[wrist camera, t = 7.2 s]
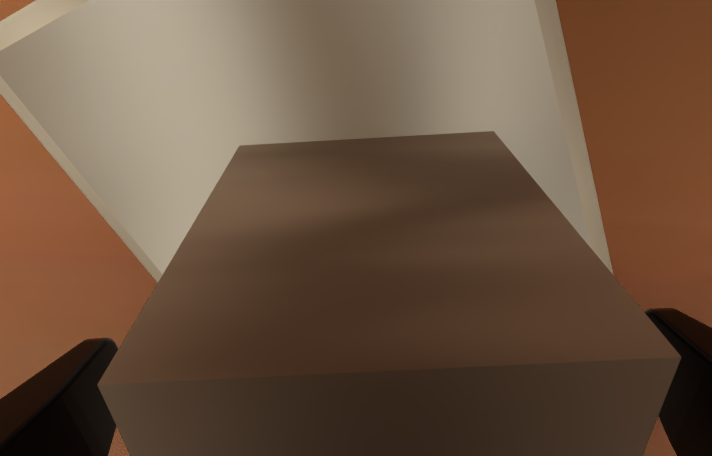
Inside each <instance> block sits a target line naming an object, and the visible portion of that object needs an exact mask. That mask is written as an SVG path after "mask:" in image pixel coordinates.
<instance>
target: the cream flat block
mask: <svg viewBox="0 0 712 456" xmlns="http://www.w3.org/2000/svg"><path fill="white" fill-rule="evenodd" d="M0 94H1V95H2V96H3V97H4V99H5V100H6V101H7V102H8V103H9V105H10V106H11V107H12V108H13V109H14V111H15V112H16V113H17V114H18V115H19V117H20V118H21V119H22V120H23V121H24V123H25V124H26V125H27V126H28V128H29V129H30V130H31V131H32V132H33V134H34V135H35V136H36V137H37V138H38V140H39V141H40V142H41V143H42V144H43V146H44V147H45V148H46V149H47V150H48V152H49V153H50V154H51V155H52V156H53V158H54V159H55V160H56V161H57V162H58V164H59V165H60V166H61V167H62V168H63V170H64V171H65V172H66V173H67V174H68V176H69V177H70V178H71V179H72V180H73V182H74V183H75V184H76V185H77V186H78V188H79V189H80V190H81V191H82V192H83V194H84V195H85V196H86V197H87V198H88V200H89V201H90V202H91V203H92V204H93V206H94V207H95V208H96V209H97V210H98V212H99V213H100V214H101V215H102V217H103V218H104V219H105V220H106V221H107V223H108V224H109V225H110V226H111V227H112V229H113V230H114V231H115V232H116V233H117V235H118V236H119V237H120V238H121V239H122V241H123V242H124V243H125V244H126V245H127V247H128V248H129V249H130V250H131V251H132V253H133V254H134V255H135V256H136V257H137V259H138V260H139V261H140V262H141V263H142V265H143V266H144V267H145V268H146V269H147V271H148V272H149V273H150V274H151V275H152V277H153V278H154V279H155V280H156V281H157V283H158V282H159V280H160V278H161V277H162V275H163V273H164V272H165V270H166V268H167V267H168V265H169V263H170V261H171V260H172V258H173V256H174V255H175V253H176V251H177V250H178V248H179V246H180V245H181V243H182V241H183V240H184V238H185V236H186V235H187V233H188V231H189V229H190V228H191V226H192V224H193V223H194V221H195V219H196V218H197V216H198V214H199V213H200V211H201V209H202V208H203V206H204V204H205V203H206V201H207V199H208V198H209V196H210V194H211V192H212V191H213V189H214V187H215V186H216V184H217V182H218V181H219V179H220V177H221V176H222V174H223V172H224V171H225V169H226V167H227V166H228V164H229V162H230V161H231V159H232V157H233V155H234V154H235V152H236V150H237V149H238V147H239V146H240V145H258V144H276V143H293V142H311V141H329V140H346V139H364V138H382V137H399V136H417V135H435V134H452V133H470V132H487V131H494V132H495V133H496V134H497V136H498V137H499V138H500V139H501V141H502V142H503V143H504V144H505V145H506V147H507V148H508V149H509V150H510V151H511V153H512V154H513V155H514V156H515V157H516V159H517V160H518V161H519V162H520V163H521V165H522V166H523V167H524V168H525V169H526V171H527V172H528V173H529V174H530V175H531V177H532V178H533V179H534V180H535V181H536V183H537V184H538V185H539V186H540V187H541V189H542V190H543V191H544V192H545V193H546V195H547V196H548V197H549V198H550V199H551V201H552V202H553V203H554V204H555V205H556V207H557V208H558V209H559V210H560V211H561V213H562V214H563V215H564V216H565V218H566V219H567V220H568V221H569V222H570V224H571V225H572V226H573V227H574V228H575V230H576V231H577V232H578V233H579V234H580V236H581V237H582V238H583V239H584V240H585V242H586V243H587V244H588V245H589V246H590V248H591V249H592V250H593V251H594V252H595V254H596V255H597V256H598V257H599V258H600V260H601V261H602V262H603V263H604V264H605V266H606V267H607V268H608V269H609V270H610V272H611V273H612V274H613V270H612V266H611V261H610V256H609V251H608V247H607V242H606V237H605V232H604V228H603V223H602V218H601V213H600V209H599V204H598V199H597V194H596V189H595V185H594V180H593V175H592V170H591V166H590V161H589V156H588V151H587V147H586V142H585V137H584V132H583V128H582V123H581V118H580V113H579V109H578V104H577V99H576V94H575V90H574V85H573V80H572V75H571V71H570V66H569V61H568V56H567V52H566V47H565V42H564V37H563V33H562V28H561V23H560V18H559V14H558V9H557V4H556V0H36V1H34V2H32V3H31V4H29V5H27V6H25V7H24V8H22V9H20V10H19V11H17V12H15V13H14V14H12V15H10V16H8V17H7V18H5V19H3V20H2V21H0Z"/></svg>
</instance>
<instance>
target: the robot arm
mask: <svg viewBox="0 0 712 456" xmlns="http://www.w3.org/2000/svg"><path fill="white" fill-rule="evenodd" d="M644 313H645V314H646V315H647V316H648V317H649V319H650V320H651V321H652V322H653V323H654V325H655V326H656V327H657V328H658V329H659V331H660V332H661V333H662V334H663V335H664V337H665V338H666V339H667V340H668V341H669V343H670V344H671V345H672V346H673V347H674V349H675V350H676V351H677V352H678V353H679V355H680V356H681V359H680V362H679V365H678V367H677V370H676V372H675V375H674V377H673V380H672V382H671V385H670V387H669V390H668V392H667V395H666V397H665V400H664V402H663V405H662V407H661V410H660V412H659V415H658V416H659V418H660V420H661V423H662V425H663V427H664V430H665V432H666V434H667V436H668V438H669V440H670V443H671V445H672V447H673V449H674V450H675V452H676V454H677V456H712V328H711V327H709V326H707V325H705V324H703V323H701V322H699V321H697V320H695V319H693V318H692V317H690V316H688V315H686V314H684V313H682V312H680V311H678V310H676V309H673V308H657V309H649V310H646V311H645V312H644ZM117 351H118V347H117V345H116V343H115V342H114V341H113V340H112V339H110V338H95V339H87V340H84V341H83V342H81V343H80V344H78V345H77V346H75V347H74V348H73V349H71V350H70V351H68V352H67V353H65V354H64V355H63V356H61V357H60V358H58V359H57V360H55V361H54V362H53V363H51V364H50V365H48V366H47V367H46V368H44V369H43V370H41V371H40V372H38V373H37V374H36V375H34V376H33V377H31V378H30V379H28V380H27V381H26V382H24V383H23V384H21V385H20V386H18V387H17V388H16V389H14V390H13V391H11V392H10V393H8V394H7V395H6V396H4V397H3V398H1V399H0V456H108V453H109V450H110V446H111V443H112V439H113V436H114V432H115V429H116V424H115V421H114V419H113V417H112V415H111V413H110V411H109V409H108V407H107V404H106V402H105V400H104V398H103V396H102V394H101V392H100V390H99V387H98V385H97V384H98V383H99V381H100V379H101V378H102V376H103V374H104V373H105V371H106V369H107V367H108V366H109V364H110V362H111V361H112V359H113V357H114V356H115V354H116V352H117Z"/></svg>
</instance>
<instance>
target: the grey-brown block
mask: <svg viewBox="0 0 712 456" xmlns="http://www.w3.org/2000/svg"><path fill="white" fill-rule="evenodd" d="M680 359H681V356H680V355H679V353H678V352H677V351H676V350H675V349H674V347H673V346H672V345H671V344H670V343H669V341H668V340H667V339H666V338H665V337H664V335H663V334H662V333H661V332H660V331H659V329H658V328H657V327H656V326H655V325H654V323H653V322H652V321H651V320H650V319H649V317H648V316H647V315H646V314H645V313H644V311H643V310H642V309H641V308H640V307H639V305H638V304H637V303H636V302H635V301H634V299H633V298H632V297H631V296H630V295H629V293H628V292H627V291H626V290H625V288H624V287H623V286H622V285H621V284H620V282H619V281H618V280H617V279H616V278H615V276H614V275H613V274H612V273H611V272H610V270H609V269H608V268H607V267H606V266H605V264H604V263H603V262H602V261H601V260H600V258H599V257H598V256H597V255H596V254H595V252H594V251H593V250H592V249H591V248H590V246H589V245H588V244H587V243H586V242H585V240H584V239H583V238H582V237H581V236H580V234H579V233H578V232H577V231H576V230H575V228H574V227H573V226H572V225H571V224H570V222H569V221H568V220H567V219H566V218H565V216H564V215H563V214H562V213H561V211H560V210H559V209H558V208H557V207H556V205H555V204H554V203H553V202H552V201H551V199H550V198H549V197H548V196H547V195H546V193H545V192H544V191H543V190H542V189H541V187H540V186H539V185H538V184H537V183H536V181H535V180H534V179H533V178H532V177H531V175H530V174H529V173H528V172H527V171H526V169H525V168H524V167H523V166H522V165H521V163H520V162H519V161H518V160H517V159H516V157H515V156H514V155H513V154H512V153H511V151H510V150H509V149H508V148H507V147H506V145H505V144H504V143H503V142H502V141H501V139H500V138H499V137H498V136H497V134H496V133H495V132H494V131H487V132H470V133H452V134H435V135H417V136H399V137H382V138H364V139H346V140H329V141H311V142H293V143H276V144H258V145H240V146H239V147H238V149H237V150H236V152H235V154H234V155H233V157H232V159H231V161H230V162H229V164H228V166H227V167H226V169H225V171H224V172H223V174H222V176H221V177H220V179H219V181H218V182H217V184H216V186H215V187H214V189H213V191H212V192H211V194H210V196H209V198H208V199H207V201H206V203H205V204H204V206H203V208H202V209H201V211H200V213H199V214H198V216H197V218H196V219H195V221H194V223H193V224H192V226H191V228H190V229H189V231H188V233H187V235H186V236H185V238H184V240H183V241H182V243H181V245H180V246H179V248H178V250H177V251H176V253H175V255H174V256H173V258H172V260H171V261H170V263H169V265H168V267H167V268H166V270H165V272H164V273H163V275H162V277H161V278H160V280H159V282H158V283H157V285H156V287H155V288H154V290H153V292H152V293H151V295H150V297H149V298H148V300H147V302H146V304H145V305H144V307H143V309H142V310H141V312H140V314H139V315H138V317H137V319H136V320H135V322H134V324H133V325H132V327H131V329H130V330H129V332H128V334H127V335H126V337H125V339H124V341H123V342H122V344H121V346H120V347H119V349H118V351H117V352H116V354H115V356H114V357H113V359H112V361H111V362H110V364H109V366H108V367H107V369H106V371H105V373H104V374H103V376H102V378H101V379H100V381H99V383H98V384H97V385H98V387H99V390H100V392H101V394H102V396H103V398H104V400H105V402H106V404H107V407H108V409H109V411H110V413H111V415H112V417H113V419H114V421H115V424H116V426H117V428H118V430H119V432H120V434H121V436H122V439H123V441H124V443H125V445H126V447H127V449H128V451H129V453H130V456H642V455H643V453H644V450H645V448H646V445H647V443H648V440H649V438H650V435H651V433H652V430H653V428H654V425H655V423H656V420H657V418H658V415H659V412H660V410H661V407H662V405H663V402H664V400H665V397H666V395H667V392H668V390H669V387H670V385H671V382H672V380H673V377H674V375H675V372H676V370H677V367H678V365H679V362H680Z"/></svg>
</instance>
